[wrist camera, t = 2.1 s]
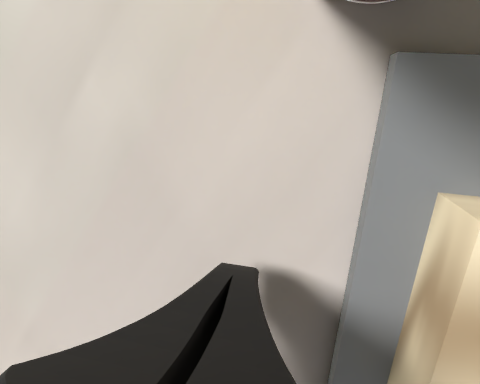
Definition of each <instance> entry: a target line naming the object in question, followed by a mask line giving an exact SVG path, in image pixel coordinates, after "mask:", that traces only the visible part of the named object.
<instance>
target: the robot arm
mask: <svg viewBox="0 0 480 384" xmlns="http://www.w3.org/2000/svg"><path fill="white" fill-rule="evenodd" d="M258 275H259V271H258V270H257V269H256V268H253V267H246V266H240V265H233V264H227V263H221V264H220V265H218V266H217V267H216V268H214V269H213V270H212V271H211V272H210V273H208V274H207V275H206V276H205V277H204V278H202V279H201V280H200V281H199V282H197V283H196V284H195V285H193V286H192V287H191V288H190V289H188V290H187V291H186V292H184V293H183V294H181V295H180V296H179V297H177V298H176V299H174V300H173V301H171V302H170V303H168V304H167V305H165V306H164V307H162V308H160V309H159V310H157V311H155V312H153V313H152V314H150V315H148V316H146V317H144V318H142V319H140V320H138V321H137V322H134V323H132V324H130V325H128V326H126V327H123V328H121V329H119V330H117V331H115V332H112V333H110V334H108V335H106V336H103V337H101V338H98V339H95V340H93V341H90V342H88V343H85V344H82V345H79V346H76V347H73V348H71V349H67V350H64V351H61V352H58V353H55V354H51V355H48V356H44V357H41V358H37V359H34V360H30V361H27V362H23V363H19V364H15V365H12V366H10V367H9V368H8V369H7V370H6V371H5V372H4V373H2V374H1V375H0V384H296V382H295V380H294V379H293V377H292V375H291V374H290V372H289V370H288V368H287V367H286V365H285V363H284V361H283V359H282V357H281V355H280V353H279V351H278V349H277V346H276V344H275V342H274V340H273V337H272V335H271V332H270V329H269V327H268V324H267V321H266V318H265V315H264V311H263V308H262V303H261V299H260V295H259V289H258Z"/></svg>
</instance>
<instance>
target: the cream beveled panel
mask: <svg viewBox="0 0 480 384" xmlns="http://www.w3.org/2000/svg"><path fill="white" fill-rule="evenodd" d="M387 384H480V197H478V196H468V195H458V194H449V193H439V192H438V195H437V198H436V202H435V206H434V210H433V213H432V217H431V221H430V225H429V228H428V232H427V236H426V240H425V243H424V247H423V251H422V255H421V258H420V262H419V266H418V270H417V273H416V277H415V281H414V285H413V288H412V292H411V296H410V300H409V303H408V307H407V311H406V315H405V318H404V322H403V326H402V330H401V333H400V337H399V341H398V345H397V348H396V352H395V356H394V359H393V363H392V367H391V371H390V374H389V378H388V382H387Z"/></svg>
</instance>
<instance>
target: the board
mask: <svg viewBox="0 0 480 384" xmlns="http://www.w3.org/2000/svg"><path fill="white" fill-rule="evenodd" d="M438 192H439V193H449V194H458V195H468V196H478V197H480V55H472V54H446V53H420V52H396V53H394V54H392V55H390V60H389V65H388V70H387V75H386V81H385V86H384V91H383V96H382V102H381V107H380V112H379V117H378V122H377V128H376V133H375V138H374V143H373V149H372V154H371V159H370V164H369V170H368V175H367V180H366V185H365V191H364V196H363V201H362V206H361V211H360V217H359V222H358V227H357V232H356V238H355V243H354V248H353V253H352V259H351V264H350V269H349V274H348V280H347V285H346V290H345V295H344V301H343V306H342V311H341V316H340V321H339V327H338V332H337V337H336V342H335V348H334V353H333V358H332V363H331V369H330V374H329V379H328V384H387V382H388V378H389V374H390V371H391V367H392V363H393V359H394V356H395V352H396V348H397V345H398V341H399V337H400V333H401V330H402V326H403V322H404V318H405V315H406V311H407V307H408V303H409V300H410V296H411V292H412V288H413V285H414V281H415V277H416V273H417V270H418V266H419V262H420V258H421V255H422V251H423V247H424V243H425V240H426V236H427V232H428V228H429V225H430V221H431V217H432V213H433V210H434V206H435V202H436V198H437V195H438Z"/></svg>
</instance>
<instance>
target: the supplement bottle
mask: <svg viewBox="0 0 480 384" xmlns="http://www.w3.org/2000/svg"><path fill="white" fill-rule="evenodd" d="M347 1H351V2H356V3H366V4H372V3H384V2H389V1H394V0H347Z"/></svg>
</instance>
